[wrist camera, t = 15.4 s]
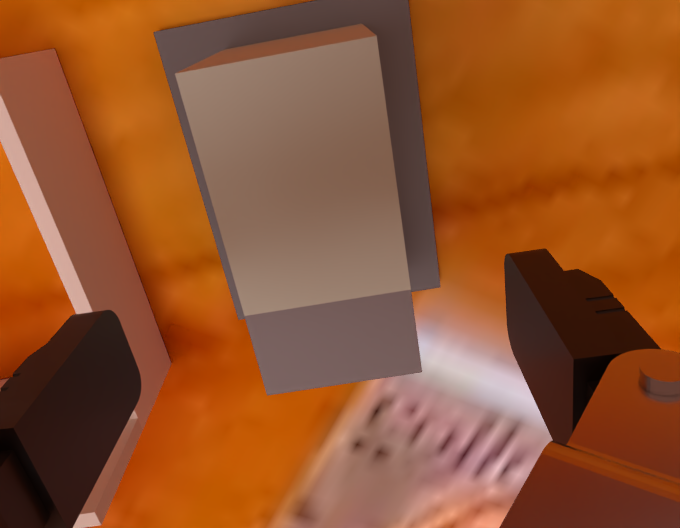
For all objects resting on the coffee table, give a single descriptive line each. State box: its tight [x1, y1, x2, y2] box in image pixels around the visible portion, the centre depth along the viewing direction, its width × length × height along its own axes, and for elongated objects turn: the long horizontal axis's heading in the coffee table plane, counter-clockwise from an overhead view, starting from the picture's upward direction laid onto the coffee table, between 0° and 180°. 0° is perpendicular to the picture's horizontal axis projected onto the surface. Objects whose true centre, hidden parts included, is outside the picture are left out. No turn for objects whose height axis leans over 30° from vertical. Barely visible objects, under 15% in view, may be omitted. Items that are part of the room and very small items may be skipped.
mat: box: [154, 0, 440, 320], centre depth 22 cm, size 9×12×1 cm
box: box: [175, 24, 422, 395], centre depth 19 cm, size 5×10×7 cm, turn 10°
